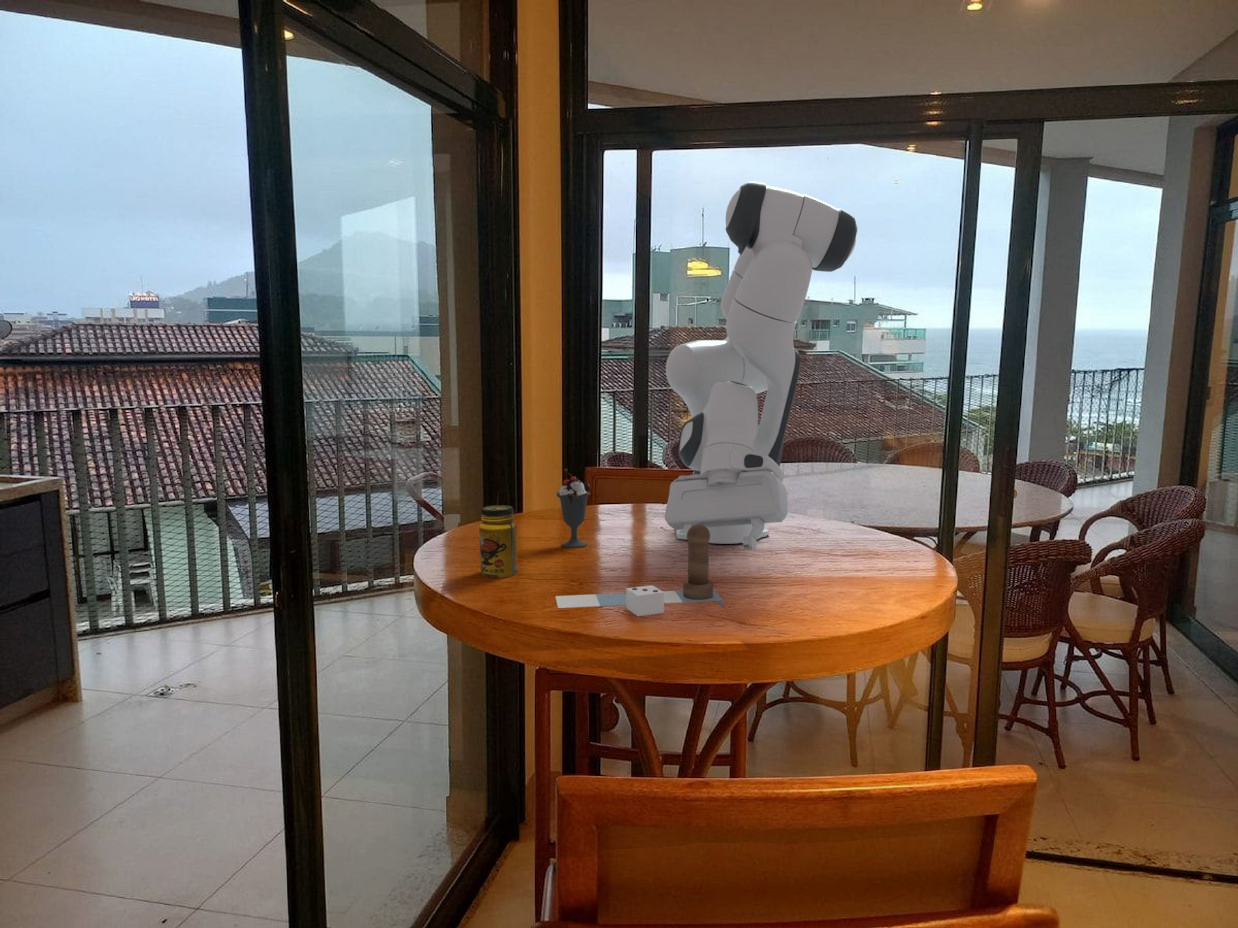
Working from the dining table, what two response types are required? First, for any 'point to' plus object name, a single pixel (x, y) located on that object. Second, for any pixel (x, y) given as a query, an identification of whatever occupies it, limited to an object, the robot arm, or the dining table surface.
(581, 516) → the sundae
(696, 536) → the pawn
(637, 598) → the die
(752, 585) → the dining table surface
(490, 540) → the condiment
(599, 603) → the board
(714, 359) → the robot arm
